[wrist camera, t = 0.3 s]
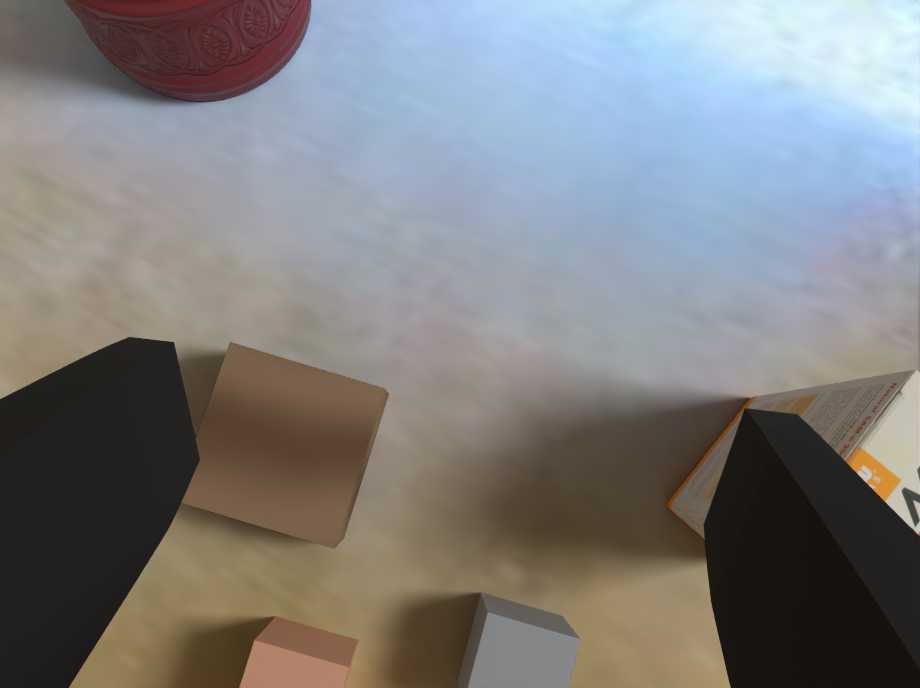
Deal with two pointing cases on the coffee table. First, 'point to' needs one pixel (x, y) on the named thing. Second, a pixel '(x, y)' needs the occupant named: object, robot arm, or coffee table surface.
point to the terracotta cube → (298, 657)
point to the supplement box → (835, 441)
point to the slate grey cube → (517, 647)
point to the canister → (196, 42)
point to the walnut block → (285, 445)
